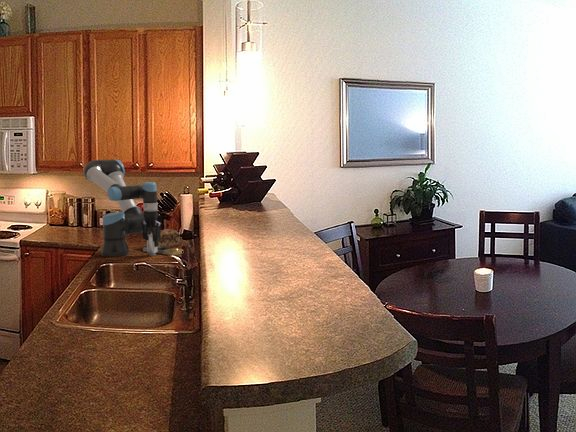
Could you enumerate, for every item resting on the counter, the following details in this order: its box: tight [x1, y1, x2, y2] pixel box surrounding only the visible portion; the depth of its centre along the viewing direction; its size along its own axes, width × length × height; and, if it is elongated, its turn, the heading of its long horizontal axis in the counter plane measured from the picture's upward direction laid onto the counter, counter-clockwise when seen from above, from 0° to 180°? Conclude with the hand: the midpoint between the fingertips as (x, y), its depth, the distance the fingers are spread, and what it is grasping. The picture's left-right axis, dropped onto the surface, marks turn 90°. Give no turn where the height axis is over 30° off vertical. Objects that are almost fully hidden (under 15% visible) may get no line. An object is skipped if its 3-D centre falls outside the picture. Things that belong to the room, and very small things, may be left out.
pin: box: [147, 232, 157, 257], centre depth 303 cm, size 5×5×12 cm
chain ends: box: [142, 246, 184, 256], centre depth 311 cm, size 24×8×3 cm, turn 57°
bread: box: [158, 228, 181, 248], centre depth 330 cm, size 19×11×10 cm, turn 141°
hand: (152, 251), depth 303 cm, fingers closed on pin, 4 cm apart
